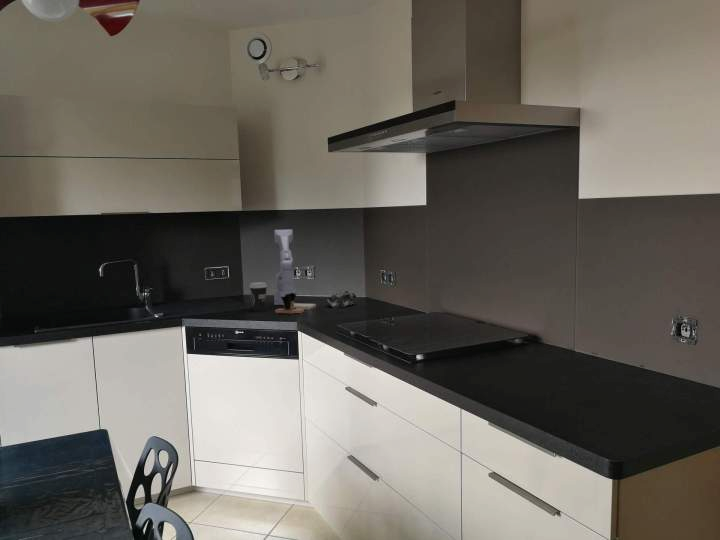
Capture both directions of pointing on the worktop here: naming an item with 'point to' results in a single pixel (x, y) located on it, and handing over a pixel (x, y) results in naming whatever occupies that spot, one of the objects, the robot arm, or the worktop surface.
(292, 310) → the stub
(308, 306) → the pad
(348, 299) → the foil
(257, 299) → the coffee cup
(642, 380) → the worktop surface
